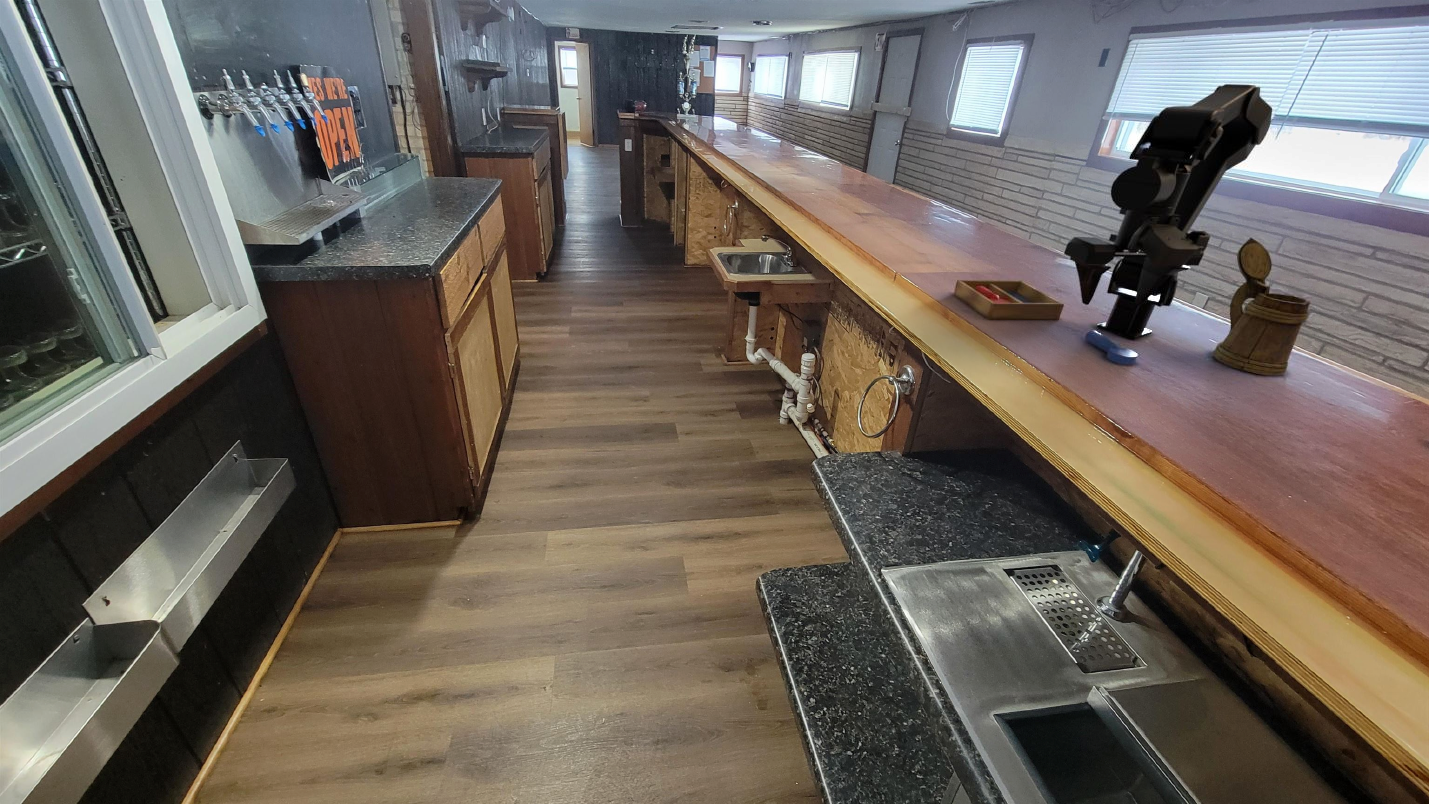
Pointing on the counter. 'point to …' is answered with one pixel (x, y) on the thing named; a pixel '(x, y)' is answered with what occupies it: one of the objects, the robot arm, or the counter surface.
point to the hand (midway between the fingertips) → (1111, 304)
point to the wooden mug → (1260, 319)
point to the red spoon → (990, 295)
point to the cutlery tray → (1019, 294)
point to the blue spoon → (1111, 348)
